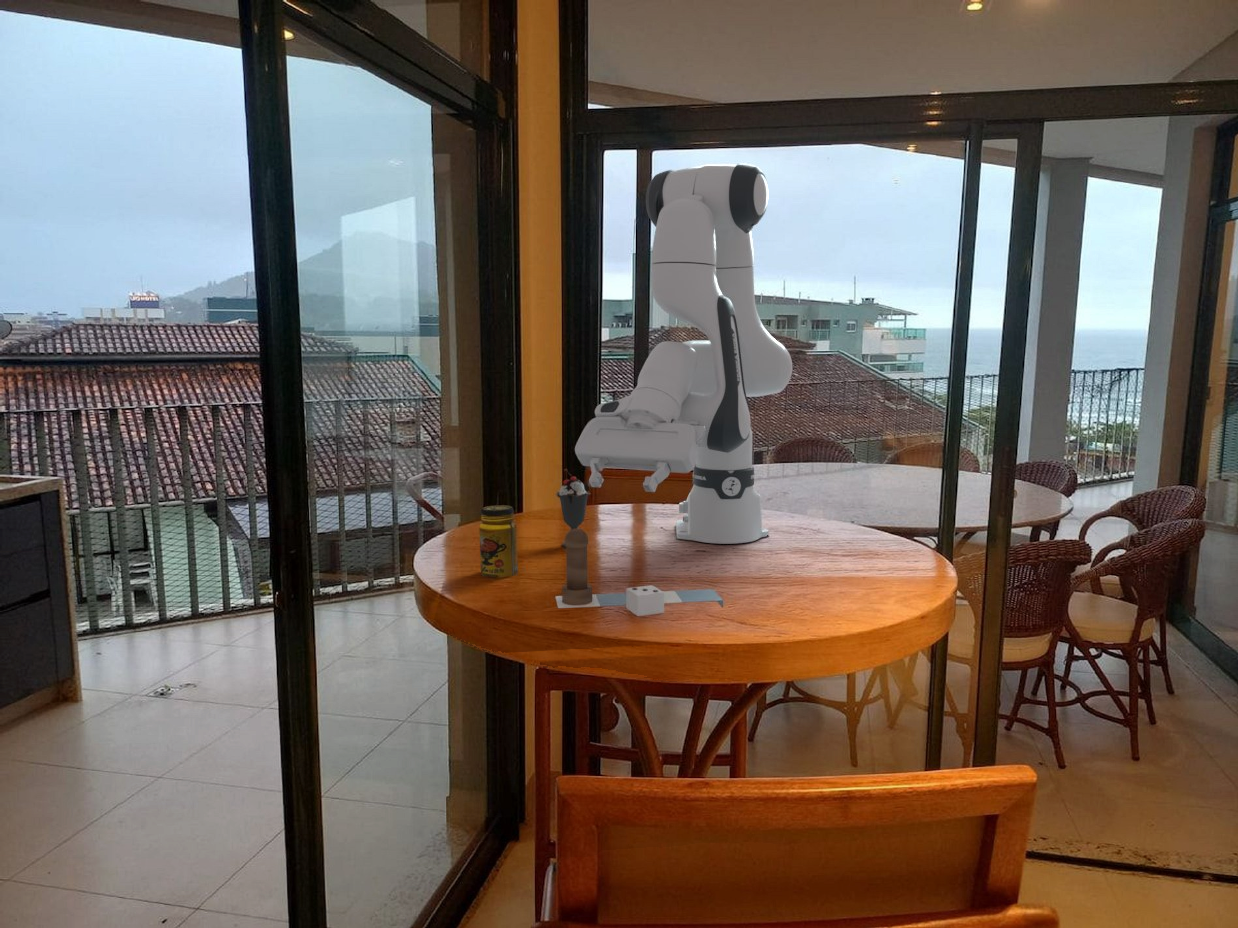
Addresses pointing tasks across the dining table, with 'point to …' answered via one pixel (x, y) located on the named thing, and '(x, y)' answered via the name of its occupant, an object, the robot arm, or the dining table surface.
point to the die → (645, 600)
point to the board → (668, 598)
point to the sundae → (573, 501)
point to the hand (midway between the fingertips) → (620, 487)
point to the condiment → (498, 542)
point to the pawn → (576, 569)
